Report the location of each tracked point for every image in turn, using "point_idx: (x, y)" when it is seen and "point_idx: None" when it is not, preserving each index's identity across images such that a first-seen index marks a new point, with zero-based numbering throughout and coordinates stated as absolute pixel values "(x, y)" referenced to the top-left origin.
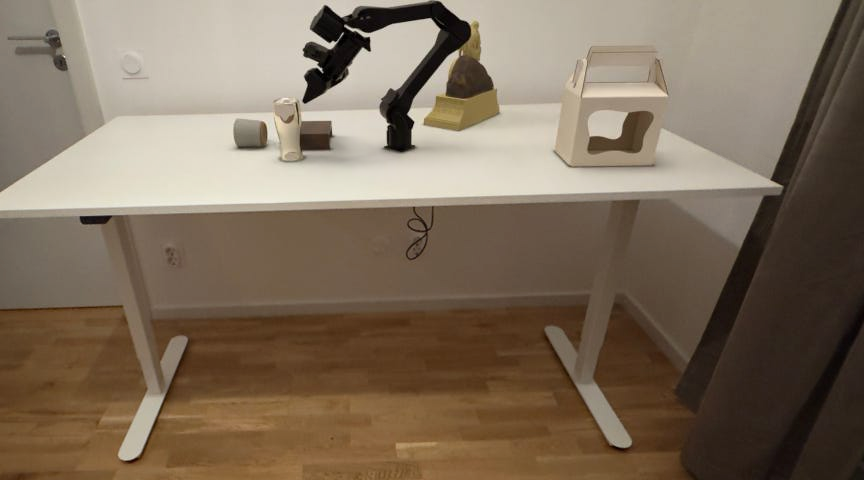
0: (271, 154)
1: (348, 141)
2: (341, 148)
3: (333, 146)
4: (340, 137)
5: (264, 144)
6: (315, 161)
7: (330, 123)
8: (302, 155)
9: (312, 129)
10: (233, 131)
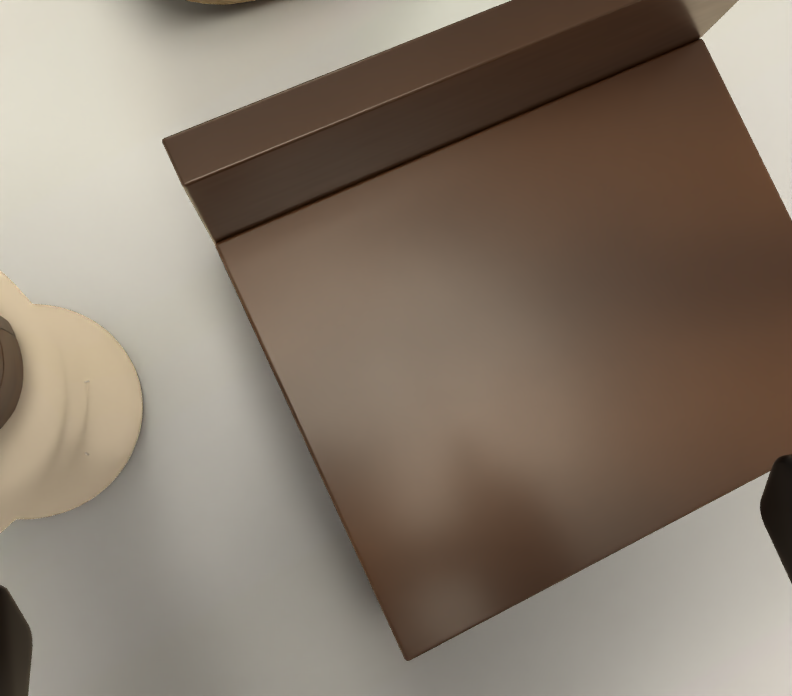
0: (69, 177)
1: (688, 642)
2: (470, 693)
3: None
4: None
5: (220, 4)
6: None
7: None
8: (50, 514)
9: (484, 398)
10: None
